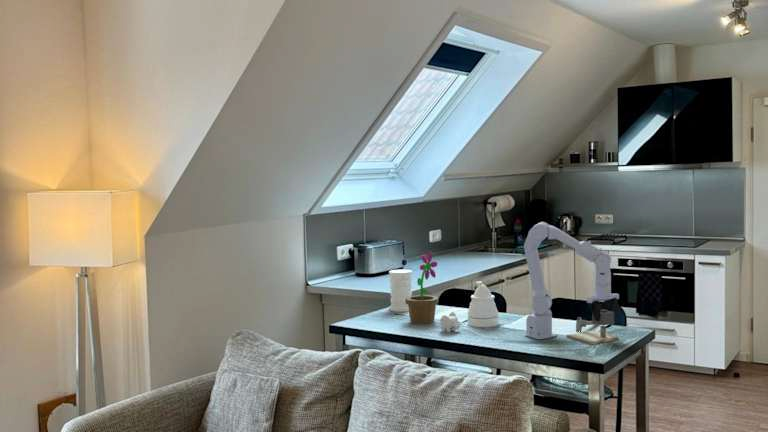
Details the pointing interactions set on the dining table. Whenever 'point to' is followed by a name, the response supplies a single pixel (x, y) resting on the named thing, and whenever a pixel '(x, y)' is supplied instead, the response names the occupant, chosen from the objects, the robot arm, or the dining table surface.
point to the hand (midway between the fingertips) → (603, 319)
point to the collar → (604, 318)
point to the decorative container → (400, 289)
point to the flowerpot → (423, 297)
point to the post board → (593, 336)
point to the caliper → (582, 324)
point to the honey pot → (482, 308)
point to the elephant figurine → (449, 323)
